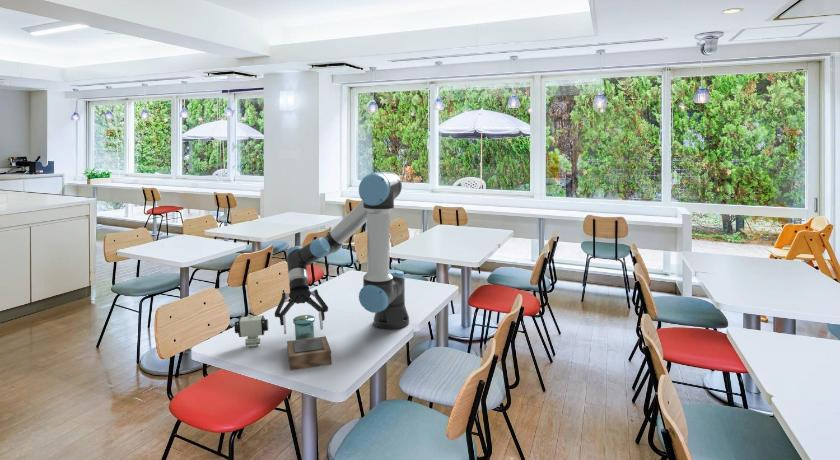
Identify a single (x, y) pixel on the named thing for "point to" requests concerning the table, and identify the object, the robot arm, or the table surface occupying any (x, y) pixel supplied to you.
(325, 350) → the walnut stand
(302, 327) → the teal glass jar
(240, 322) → the pneumatic valve
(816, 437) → the table surface
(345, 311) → the table surface
